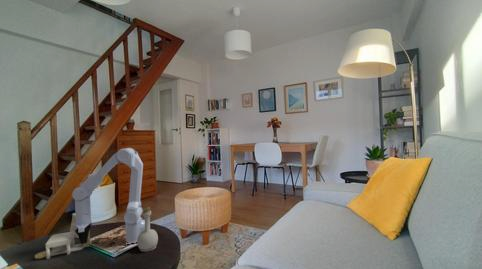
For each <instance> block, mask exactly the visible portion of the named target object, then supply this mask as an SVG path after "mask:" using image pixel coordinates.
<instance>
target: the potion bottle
mask: <svg viewBox="0 0 482 269" xmlns="http://www.w3.org/2000/svg"><path fill="white" fill-rule="evenodd" d="M142 216H143V218H144V220H145V230H144V231H142V232H141V233H140V234H139V236H138V239H137V243H136V244H137V247H138V249H139V251H140V252H144V253H145V252H150V251H153V250H155V249H156V248H157V245H158V241H159V235H158V233H157V232H158V231H156V230H155V229H153V228H151V216H152V210H151V207H150V206H148V207H145V208H143V212H142Z"/></svg>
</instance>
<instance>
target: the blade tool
mask: <svg viewBox="0 0 482 269" xmlns="http://www.w3.org/2000/svg"><path fill="white" fill-rule="evenodd" d="M90 230H91V229H90ZM90 230H89V233H88V239H87V243H85V244H81V243H77V244H74V245H71V246H70V253H71V252H76V251H80V250H83V249H84V248H87V247H89V246H88V245H89V244H90V245H91V237H90V236H91V235H90V233H91V231H90ZM62 254H67V246H66V247H62V248H57V249H52V248H51V249H50V257H54V256H57V255H62Z"/></svg>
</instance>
